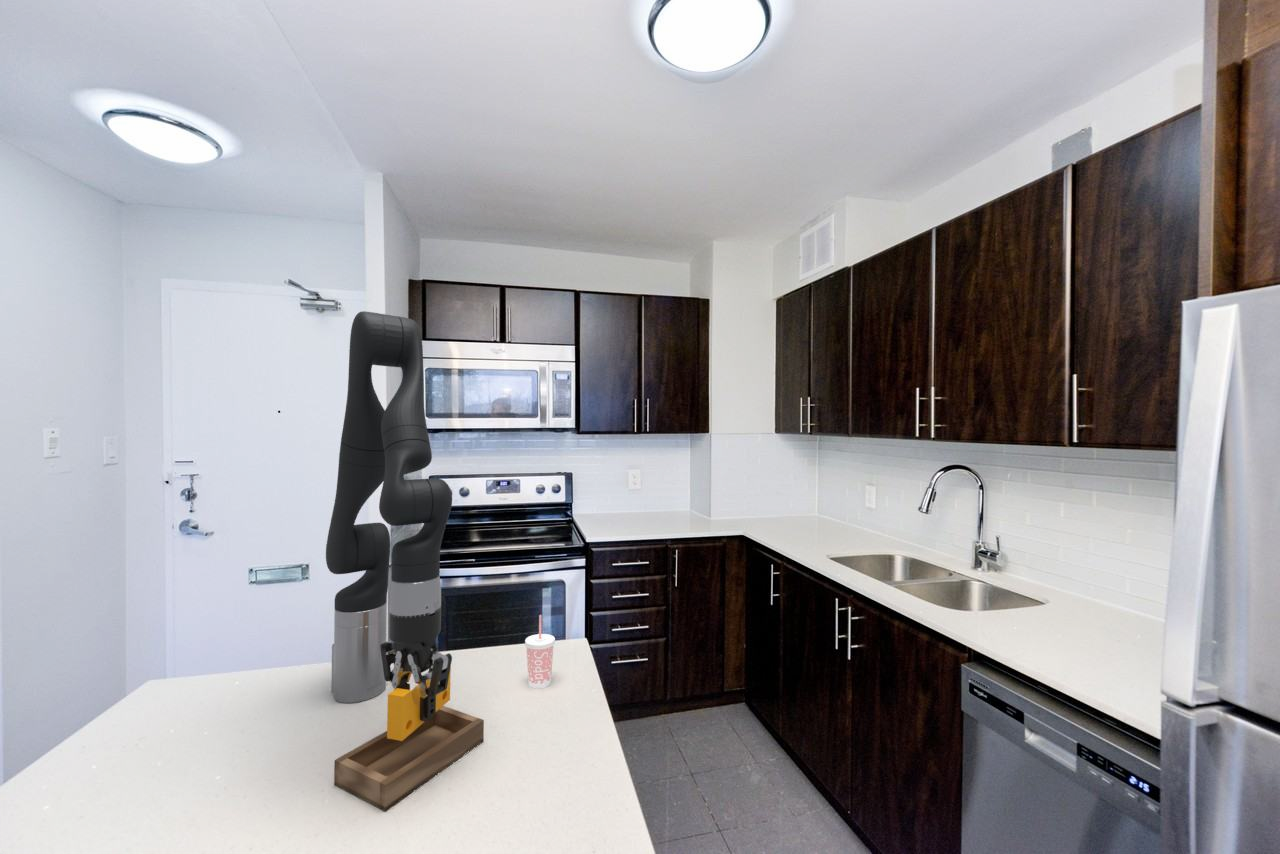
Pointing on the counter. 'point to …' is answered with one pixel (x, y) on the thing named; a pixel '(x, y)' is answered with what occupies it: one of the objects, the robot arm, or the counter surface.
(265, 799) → the counter surface
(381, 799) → the wooden tray
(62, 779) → the counter surface
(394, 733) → the pipe clamp
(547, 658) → the beverage cup
